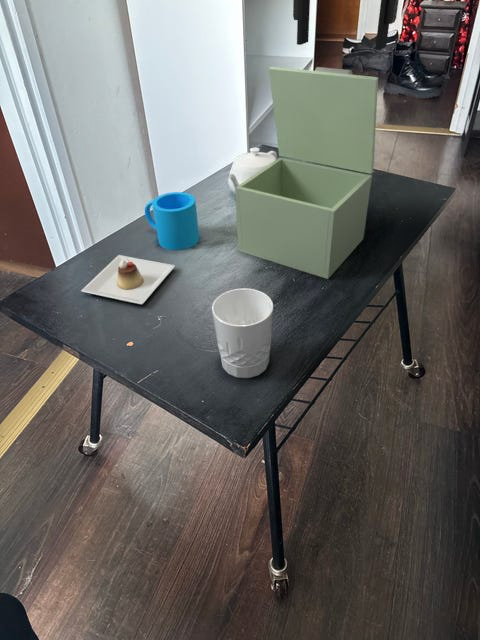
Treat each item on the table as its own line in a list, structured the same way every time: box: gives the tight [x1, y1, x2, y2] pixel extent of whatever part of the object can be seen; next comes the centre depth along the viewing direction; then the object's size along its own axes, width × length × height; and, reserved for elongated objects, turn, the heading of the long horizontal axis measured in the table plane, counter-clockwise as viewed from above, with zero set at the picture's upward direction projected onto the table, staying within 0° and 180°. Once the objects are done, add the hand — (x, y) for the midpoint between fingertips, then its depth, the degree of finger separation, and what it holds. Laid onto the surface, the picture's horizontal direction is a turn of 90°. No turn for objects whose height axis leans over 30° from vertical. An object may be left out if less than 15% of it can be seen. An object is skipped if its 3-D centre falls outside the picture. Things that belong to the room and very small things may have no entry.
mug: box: [144, 191, 200, 251], centre depth 93 cm, size 12×8×8 cm
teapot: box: [227, 147, 278, 195], centre depth 106 cm, size 20×12×10 cm, turn 148°
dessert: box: [80, 254, 176, 305], centre depth 82 cm, size 12×12×5 cm
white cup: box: [211, 287, 274, 379], centre depth 64 cm, size 8×8×10 cm
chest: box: [235, 156, 373, 280], centre depth 87 cm, size 16×19×13 cm
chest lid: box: [268, 66, 379, 175], centre depth 82 cm, size 16×19×6 cm
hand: (340, 46), depth 77 cm, fingers open, 13 cm apart
